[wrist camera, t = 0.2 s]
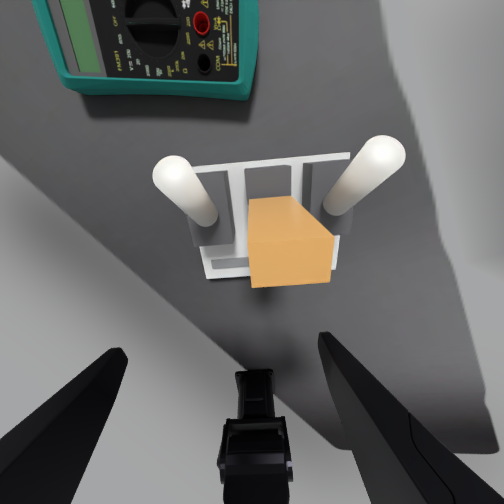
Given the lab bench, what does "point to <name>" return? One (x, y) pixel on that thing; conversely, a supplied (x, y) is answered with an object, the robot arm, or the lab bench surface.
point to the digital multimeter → (153, 46)
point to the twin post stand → (271, 195)
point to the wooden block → (286, 244)
